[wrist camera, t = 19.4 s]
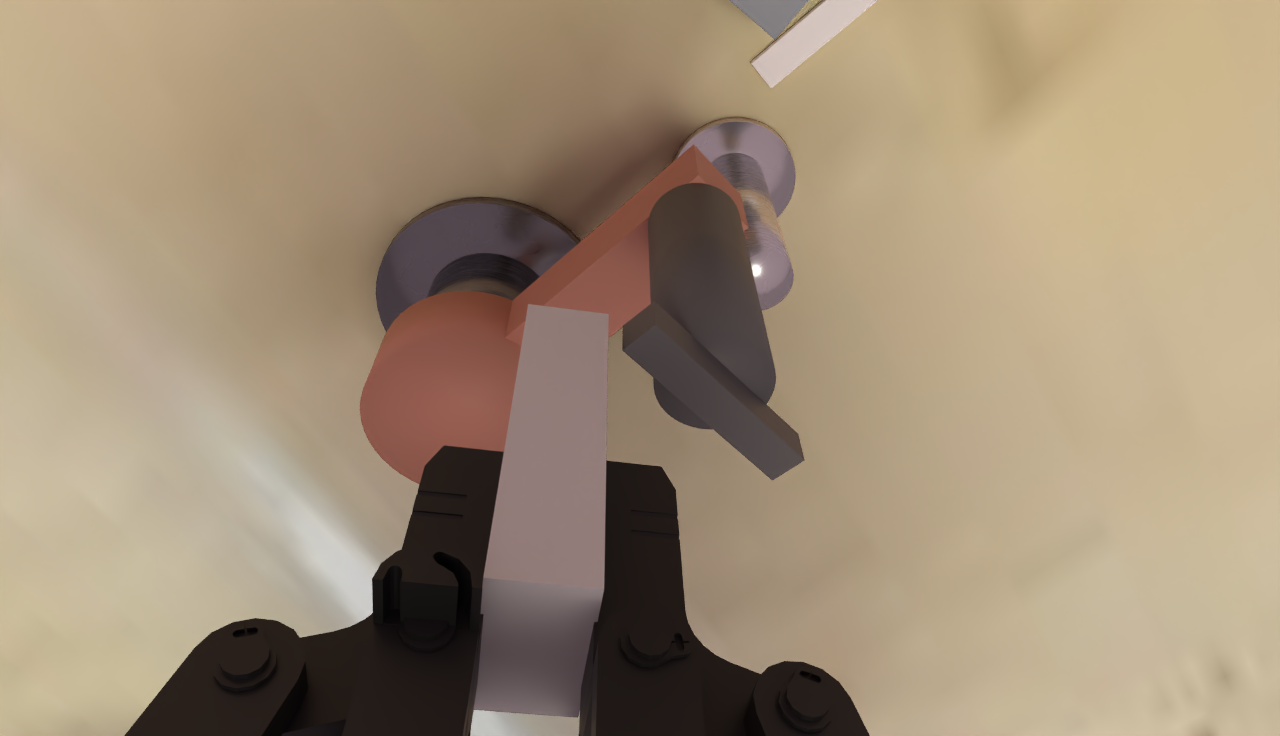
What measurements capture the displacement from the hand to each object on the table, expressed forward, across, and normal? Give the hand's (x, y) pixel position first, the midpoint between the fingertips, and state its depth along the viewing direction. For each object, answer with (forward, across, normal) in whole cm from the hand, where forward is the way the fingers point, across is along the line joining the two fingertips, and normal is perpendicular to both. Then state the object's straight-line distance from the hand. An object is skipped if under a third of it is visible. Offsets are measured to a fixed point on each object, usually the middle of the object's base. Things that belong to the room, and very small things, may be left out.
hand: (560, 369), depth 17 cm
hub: (+13, -2, -7) cm, 15 cm away
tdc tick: (+13, +6, +4) cm, 15 cm away
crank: (+9, 0, -4) cm, 10 cm away
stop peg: (+13, +5, -1) cm, 14 cm away
